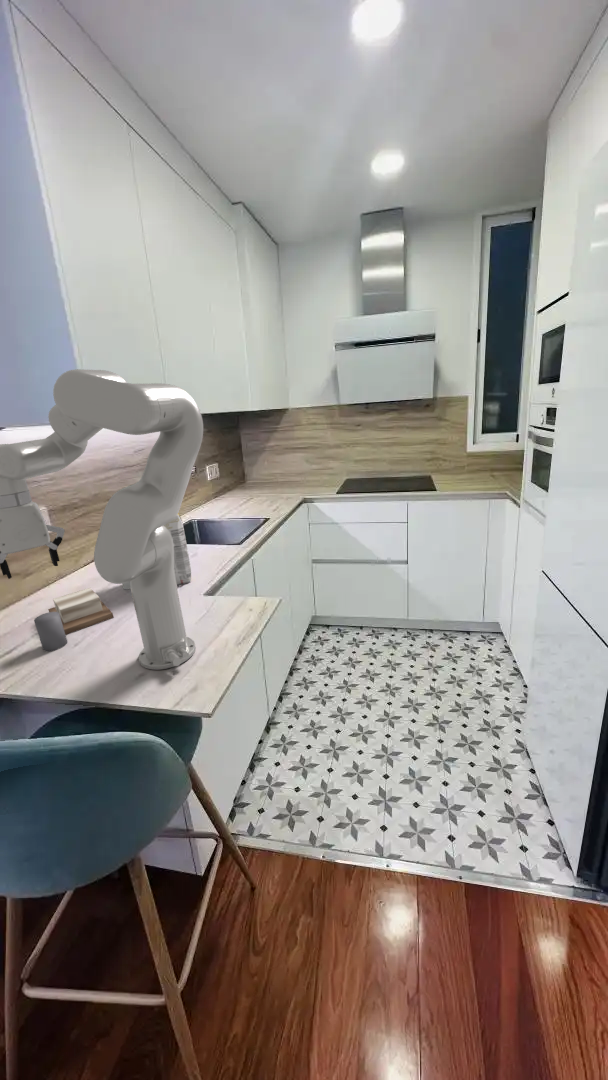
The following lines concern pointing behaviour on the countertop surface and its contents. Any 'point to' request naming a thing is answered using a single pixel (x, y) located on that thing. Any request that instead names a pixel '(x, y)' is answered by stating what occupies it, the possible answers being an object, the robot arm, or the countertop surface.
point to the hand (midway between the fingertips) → (33, 570)
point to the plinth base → (86, 619)
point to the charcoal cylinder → (50, 631)
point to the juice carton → (180, 551)
